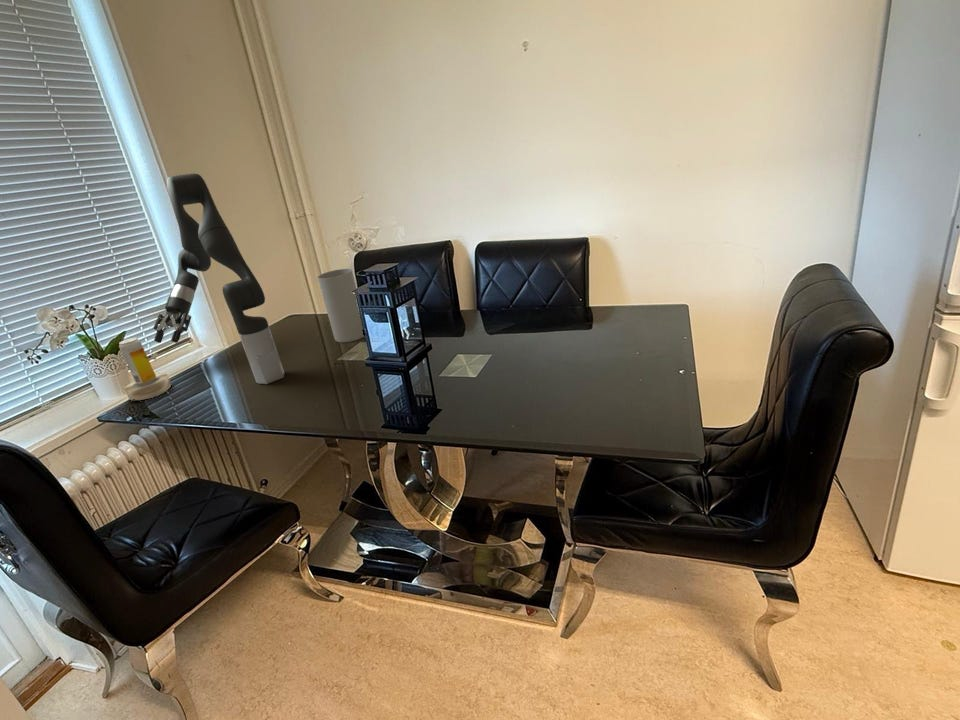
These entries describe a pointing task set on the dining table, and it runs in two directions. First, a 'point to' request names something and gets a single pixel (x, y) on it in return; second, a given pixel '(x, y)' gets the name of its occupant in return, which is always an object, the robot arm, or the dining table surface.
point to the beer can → (137, 361)
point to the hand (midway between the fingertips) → (165, 342)
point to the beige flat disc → (148, 388)
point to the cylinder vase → (341, 304)
